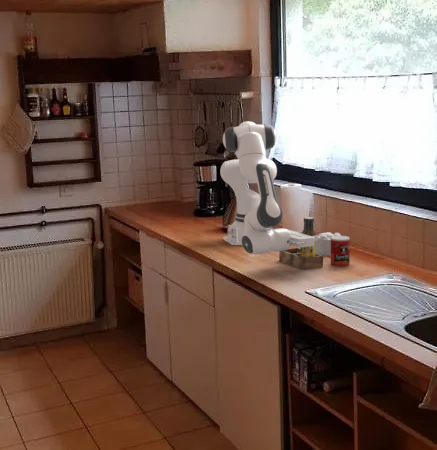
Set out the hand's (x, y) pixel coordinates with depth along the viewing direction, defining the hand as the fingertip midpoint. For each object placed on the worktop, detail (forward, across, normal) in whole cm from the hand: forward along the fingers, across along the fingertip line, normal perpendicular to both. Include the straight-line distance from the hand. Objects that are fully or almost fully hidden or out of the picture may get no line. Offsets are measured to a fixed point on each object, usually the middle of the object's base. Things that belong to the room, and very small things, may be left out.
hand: (310, 235), depth 287 cm
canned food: (+12, -4, +13) cm, 18 cm away
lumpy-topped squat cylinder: (+21, +14, +13) cm, 28 cm away
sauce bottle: (-1, 0, +13) cm, 13 cm away
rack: (-1, +5, +12) cm, 14 cm away
